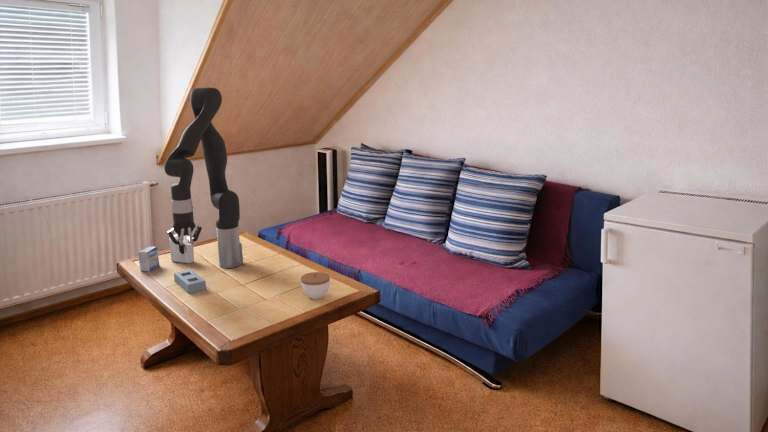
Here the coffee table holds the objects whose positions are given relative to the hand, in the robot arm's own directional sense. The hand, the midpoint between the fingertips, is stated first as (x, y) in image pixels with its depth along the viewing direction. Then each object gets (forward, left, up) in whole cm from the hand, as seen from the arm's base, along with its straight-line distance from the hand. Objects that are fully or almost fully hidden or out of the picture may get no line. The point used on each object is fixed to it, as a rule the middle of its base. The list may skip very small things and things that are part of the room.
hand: (186, 252), depth 245 cm
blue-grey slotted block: (0, 0, -13) cm, 13 cm away
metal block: (0, 0, -3) cm, 3 cm away
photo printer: (-7, -29, -14) cm, 33 cm away
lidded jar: (-34, +40, -14) cm, 54 cm away
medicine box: (+7, -29, -14) cm, 33 cm away
